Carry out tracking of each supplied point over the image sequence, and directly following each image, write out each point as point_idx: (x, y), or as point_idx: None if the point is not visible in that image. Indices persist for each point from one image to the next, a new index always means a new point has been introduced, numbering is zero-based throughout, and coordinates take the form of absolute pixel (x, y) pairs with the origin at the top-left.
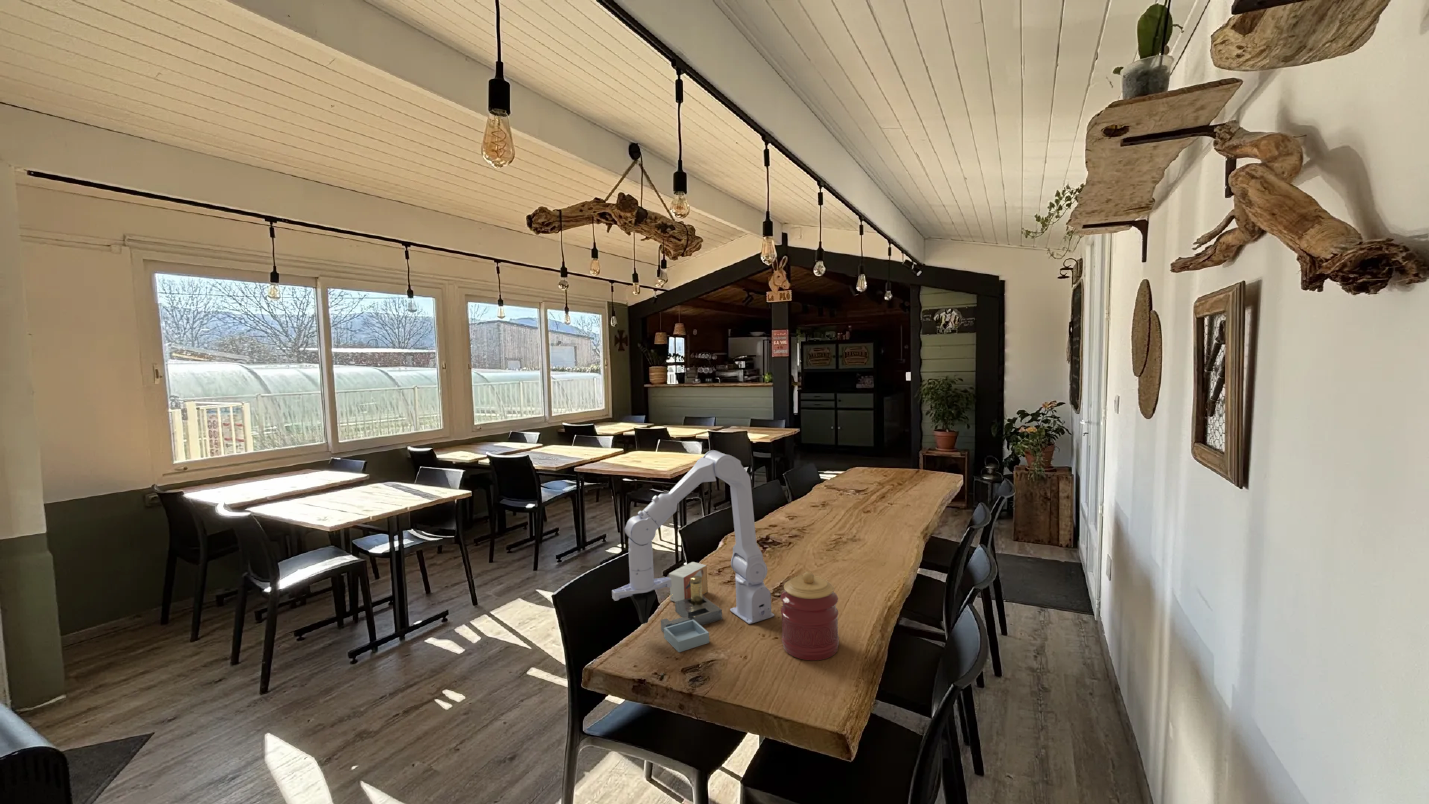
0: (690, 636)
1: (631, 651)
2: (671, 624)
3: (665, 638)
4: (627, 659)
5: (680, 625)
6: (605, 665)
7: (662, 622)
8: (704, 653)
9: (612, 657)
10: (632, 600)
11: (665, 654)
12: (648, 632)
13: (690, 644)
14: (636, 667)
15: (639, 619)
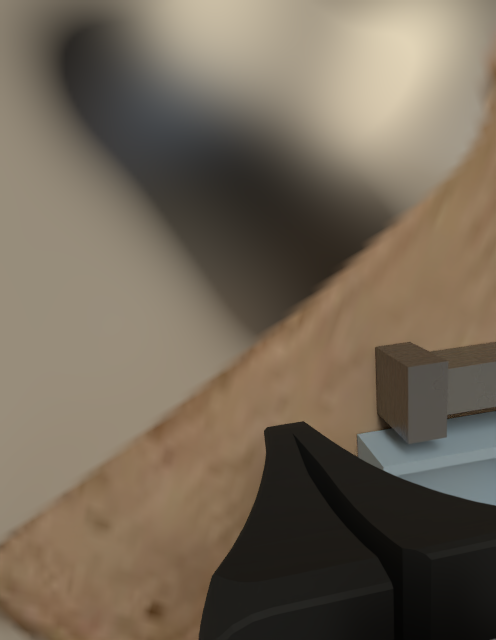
0: (466, 491)
1: (166, 494)
2: (438, 433)
3: (359, 450)
4: (131, 553)
5: (475, 456)
6: (15, 569)
7: (405, 391)
8: None
9: (60, 514)
10: (239, 535)
11: None
12: (305, 341)
13: None
14: (156, 623)
15: (265, 433)
